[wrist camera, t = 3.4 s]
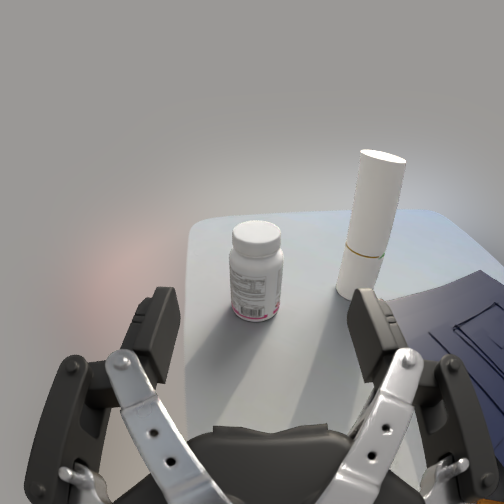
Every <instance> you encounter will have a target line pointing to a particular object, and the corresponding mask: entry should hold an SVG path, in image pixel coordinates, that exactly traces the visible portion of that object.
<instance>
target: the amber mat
mask: <svg viewBox="0 0 504 504" xmlns="http://www.w3.org/2000/svg"><path fill="white" fill-rule="evenodd" d="M477 504H504V502H500V501H494V500H488V499H481V500H479V501H477Z"/></svg>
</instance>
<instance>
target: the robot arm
mask: <svg viewBox="0 0 504 504" xmlns="http://www.w3.org/2000/svg"><path fill="white" fill-rule="evenodd" d="M347 325H348V328H349V332H350V335H351V338H352V341H353V345H354V348H355V351H356V355H357V358H358V362H359V365H360V369H361V372H362V376H363V379H364V383H369V382H373V384H374V388H373V390H372V392H371V394H370V396H369V398H368V400H367V402H366V404H365V406H364V407H363V409H362V411H361V413H360V415H359V417H358V419H357V420H356V422H355V424H354V425H353V426H352V428H351V429H350V431H349V432H348V434H347V435H345V434H342V433H340V432H337V431H332V430H328V425H327V423H326V424H317V425H305V426H298V427H295V428H291V429H288V430H284V431H280V432H276V433H265V432H260V431H256V430H251V429H247V428H243V427H226V426H213V432H210V433H205V434H202V435H199V436H196V437H194V438H192V439H190V440H189V441H187V442H186V441H185V439H184V438H183V436H182V435H181V433H180V432H179V430H178V429H177V427H176V426H175V424H174V422H173V421H172V419H171V417H170V416H169V414H168V412H167V411H166V409H165V407H164V406H163V404H162V402H161V401H160V399H159V397H158V395H157V394H156V392H155V389H156V385H157V383H162V384H165V382H166V378H167V373H168V370H169V365H170V361H171V357H172V353H173V349H174V345H175V341H176V338H177V334H178V330H179V326H180V310H179V305H178V301H177V297H176V292H175V289H174V288H173V287H157V288H156V290H155V292H154V295H153V297H152V298H145V299H144V300H143V301H142V302H141V303H140V304H139V305H138V308H137V310H136V312H135V315H134V317H133V319H132V323H131V324H130V326H129V329H128V331H127V333H126V336H125V338H124V341H123V343H122V346H121V348H120V350H117V351H115V352H113V353H111V354H110V355H109V356H108V358H107V359H106V360H104V361H97V362H89V363H87V362H86V360H85V359H84V358H83V357H82V356H80V355H71V356H69V357H67V358H65V359H64V360H63V361H62V363H61V365H60V366H59V369H58V371H57V374H56V376H55V379H54V381H53V384H52V387H51V389H50V392H49V395H48V397H47V400H46V403H45V406H44V409H43V412H42V415H41V418H40V421H39V424H38V428H37V431H36V435H35V438H34V442H33V445H32V449H31V453H30V457H29V462H28V466H27V471H26V476H25V481H24V490H25V494H26V496H27V498H28V499H29V500H30V502H31V503H32V504H471V503H474V502H476V501H479V500H481V499H484V498H486V497H488V496H490V495H491V494H492V493H493V492H494V491H495V490H496V488H497V486H498V483H499V472H498V467H497V462H496V457H495V453H494V449H493V445H492V441H491V438H490V434H489V431H488V427H487V424H486V421H485V418H484V414H483V411H482V408H481V406H480V403H479V400H478V397H477V394H476V392H475V389H474V387H473V384H472V382H471V379H470V377H469V374H468V372H467V369H466V367H465V365H464V363H463V361H462V360H461V359H460V358H459V357H458V356H456V355H454V354H446V355H444V356H443V357H442V358H441V360H440V361H431V360H424V359H423V358H422V356H421V355H420V354H419V353H418V352H417V351H415V350H414V349H411V348H409V347H408V345H407V343H406V340H405V338H404V336H403V334H402V331H401V329H400V327H399V325H398V323H397V321H396V319H395V317H394V316H393V312H392V310H391V308H390V306H389V305H388V304H387V303H386V302H385V301H384V300H383V299H377V297H376V295H375V293H374V291H373V289H372V288H357V289H355V291H354V293H353V297H352V300H351V303H350V307H349V310H348V314H347ZM443 401H444V402H443ZM444 404H445V405H444ZM114 407H121V410H120V413H121V416H122V419H123V421H124V423H125V425H126V427H127V429H128V431H129V434H130V436H131V438H132V439H133V442H134V444H135V446H136V447H137V449H138V451H139V453H140V455H141V457H142V459H143V460H144V462H145V464H146V466H147V467H148V469H149V471H150V474H149V475H147V476H146V477H145V478H144V479H143V480H141V481H140V482H139V483H137V484H136V485H135V486H134V487H132V488H131V489H130V490H128V491H127V492H126V493H125V494H123V495H122V496H121V497H119V498H118V499H117V500H115V501H114V502H113V503H112V502H111V501H110V499H109V497H108V494H107V485H106V482H105V480H104V479H103V477H102V476H101V475H100V474H98V473H99V466H100V461H101V455H102V450H103V444H104V440H105V435H106V429H107V425H108V421H109V417H110V412H111V408H114ZM445 407H446V409H445ZM414 409H415V413H416V417H417V421H418V425H419V429H420V434H421V438H422V443H423V448H424V453H425V459H426V464H427V470H426V471H425V472H424V474H423V477H422V481H421V482H420V487H421V490H420V492H418V491H416V490H415V489H414V488H412V487H411V486H410V485H408V484H407V483H406V482H405V481H403V480H402V479H401V478H399V477H398V476H397V475H396V474H394V473H393V472H392V471H391V470H389V468H390V466H391V464H392V462H393V460H394V458H395V455H396V453H397V451H398V449H399V447H400V444H401V442H402V440H403V437H404V435H405V433H406V430H407V428H408V425H409V423H410V420H411V417H412V415H413V412H414ZM446 410H447V412H446ZM447 414H448V415H447Z"/></svg>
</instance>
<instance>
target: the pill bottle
mask: <svg viewBox="0 0 504 504" xmlns="http://www.w3.org/2000/svg"><path fill="white" fill-rule="evenodd" d="M232 244H233V248H232V249H231V251H230V254H229V265H230V285H231V303H232V308H233V310H234V312H235V313H236V315H238V316H239V317H240V318H242V319H244V320H247V321H251V322H259V321H264V320H267V319H269V318H271V317H273V316H274V315H275V314H276V313H277V311H278V309H279V305H280V295H281V283H282V271H283V252H282V250H281V249H280V246H281V231H280V229H279V228H278V227H277V226H276V225H274V224H272V223H269V222H265V221H247V222H243V223H240V224H238V225H237V226H236V227H235V228H234V229H233V232H232Z"/></svg>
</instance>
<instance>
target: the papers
mask: <svg viewBox="0 0 504 504" xmlns="http://www.w3.org/2000/svg"><path fill="white" fill-rule="evenodd" d="M385 302H386V303H387V304H388V305H389V306H390V308H391V310H392V312H393V316H394V317H395V319H396V321H397V323H398V325H399V327H400V329H401V331H402V334H403V336H404V338H405V340H406V343H407V345H408V347H409V348H411V349H414V350H415V351H417V352H418V353H419V354H420V355H421V356H422V358H423V359H424V360H431V361H440V360H441V358H442V357H443V356H444V355H446V354H454V355H456V356H458V357H459V358H460V359H461V360H462V361H463V363H464V365H465V367H466V369H467V372H468V374H469V377H470V379H471V382H472V384H473V387H474V389H475V392H476V394H477V397H478V400H479V403H480V406H481V408H482V411H483V414H484V418H485V421H486V424H487V427H488V431H489V434H490V438H491V441H492V445H493V449H494V453H495V456H496V457H497V459H498V460H499V461H500V463H501V464H502V465H503V467H504V285H503V284H501V283H500V282H498V281H497V280H495V279H493V278H491V277H490V276H489V275H487V274H486V273H484V272H483V271H481V270H479V271H477V272H474V273H472V274H470V275H468V276H465V277H463V278H461V279H458V280H456V281H454V282H451V283H449V284H446V285H444V286H441V287H438V288H434V289H431V290H427V291H424V292H420V293H416V294H412V295H409V296H405V297H401V298H397V299H393V300H389V301H385Z"/></svg>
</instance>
